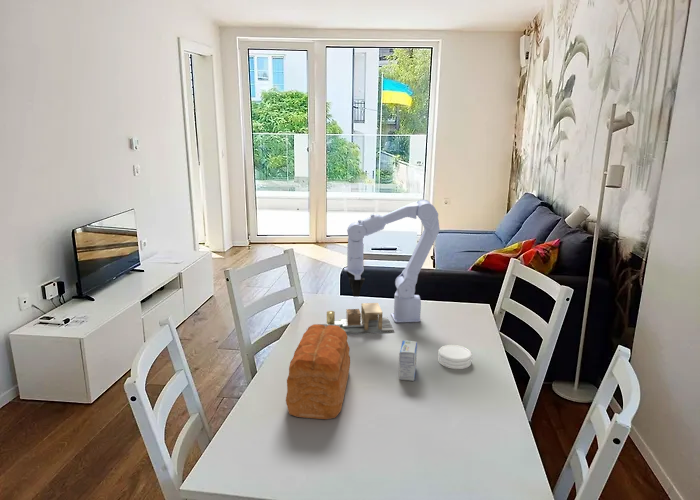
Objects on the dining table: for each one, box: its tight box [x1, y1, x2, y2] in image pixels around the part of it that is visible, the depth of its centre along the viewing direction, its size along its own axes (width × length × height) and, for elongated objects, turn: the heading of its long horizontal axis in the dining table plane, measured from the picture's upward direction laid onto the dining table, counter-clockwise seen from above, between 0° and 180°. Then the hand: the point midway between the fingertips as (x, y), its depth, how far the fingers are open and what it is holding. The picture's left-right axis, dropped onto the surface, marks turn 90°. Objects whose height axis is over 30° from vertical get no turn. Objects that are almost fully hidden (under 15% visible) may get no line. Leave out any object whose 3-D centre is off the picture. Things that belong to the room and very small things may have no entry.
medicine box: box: [398, 339, 418, 382], centre depth 138 cm, size 8×4×9 cm, turn 168°
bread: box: [285, 323, 351, 420], centre depth 128 cm, size 14×27×15 cm, turn 174°
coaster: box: [437, 344, 473, 370], centre depth 146 cm, size 10×10×4 cm
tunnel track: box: [338, 302, 395, 335], centre depth 170 cm, size 18×11×7 cm, turn 97°
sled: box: [326, 308, 365, 327], centre depth 169 cm, size 13×6×5 cm, turn 97°
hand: (354, 292), depth 175 cm, fingers open, 7 cm apart
